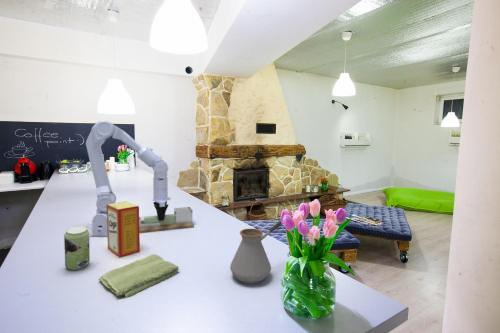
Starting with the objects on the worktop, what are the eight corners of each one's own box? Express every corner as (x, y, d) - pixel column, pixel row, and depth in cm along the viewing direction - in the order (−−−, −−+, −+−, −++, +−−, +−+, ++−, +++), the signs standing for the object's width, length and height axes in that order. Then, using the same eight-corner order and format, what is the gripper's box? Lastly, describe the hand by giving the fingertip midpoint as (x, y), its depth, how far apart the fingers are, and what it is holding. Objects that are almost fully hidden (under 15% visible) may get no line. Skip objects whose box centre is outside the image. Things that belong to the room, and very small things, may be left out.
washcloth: (95, 283, 70) (95, 271, 70) (156, 261, 84) (156, 251, 84) (119, 303, 62) (119, 290, 62) (182, 274, 76) (182, 264, 75)
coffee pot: (247, 293, 67) (249, 235, 65) (221, 274, 76) (222, 223, 74) (302, 268, 81) (304, 219, 79) (274, 255, 89) (276, 211, 88)
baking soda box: (107, 249, 91) (106, 203, 89) (127, 244, 96) (126, 200, 94) (119, 257, 84) (118, 208, 83) (139, 251, 89) (138, 205, 88)
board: (138, 233, 106) (138, 230, 106) (138, 224, 117) (138, 222, 117) (193, 227, 115) (193, 225, 115) (188, 219, 126) (188, 217, 126)
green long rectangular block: (144, 226, 111) (144, 218, 111) (144, 224, 114) (144, 216, 114) (176, 223, 116) (176, 215, 116) (175, 221, 119) (175, 213, 119)
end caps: (138, 228, 109) (138, 214, 108) (138, 224, 114) (138, 210, 114) (192, 223, 118) (192, 210, 117) (189, 219, 123) (189, 206, 123)
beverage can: (85, 259, 82) (83, 222, 81) (94, 267, 78) (93, 227, 77) (61, 267, 78) (59, 227, 76) (70, 275, 73) (68, 233, 72)
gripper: (172, 190, 109) (172, 223, 110) (168, 184, 122) (168, 214, 123) (154, 191, 106) (154, 225, 107) (151, 185, 119) (152, 215, 120)
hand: (160, 219), depth 115 cm, fingers closed on green long rectangular block, 3 cm apart
